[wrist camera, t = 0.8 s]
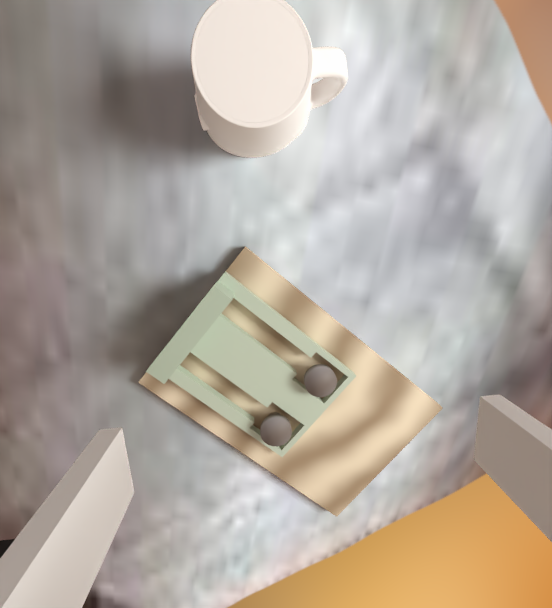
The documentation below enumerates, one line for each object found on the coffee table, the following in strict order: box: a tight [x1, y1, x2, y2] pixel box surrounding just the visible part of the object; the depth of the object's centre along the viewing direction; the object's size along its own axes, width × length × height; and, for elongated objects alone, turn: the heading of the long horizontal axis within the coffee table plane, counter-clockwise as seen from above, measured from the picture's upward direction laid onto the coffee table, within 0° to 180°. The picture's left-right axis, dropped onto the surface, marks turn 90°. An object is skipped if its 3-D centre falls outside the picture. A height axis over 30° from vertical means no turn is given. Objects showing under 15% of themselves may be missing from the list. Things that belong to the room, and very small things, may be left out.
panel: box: [146, 271, 356, 457], centre depth 31 cm, size 17×12×4 cm
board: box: [138, 247, 442, 516], centre depth 34 cm, size 28×18×4 cm, turn 51°
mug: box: [191, 0, 348, 158], centre depth 25 cm, size 12×9×8 cm
